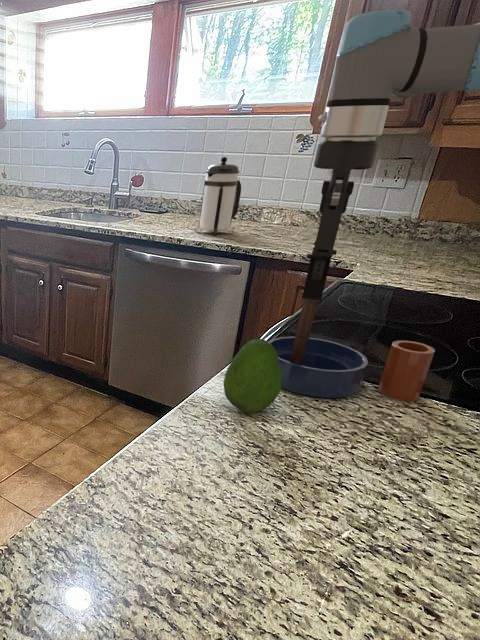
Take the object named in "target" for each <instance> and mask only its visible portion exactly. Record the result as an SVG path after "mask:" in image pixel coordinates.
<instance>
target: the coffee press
mask: <svg viewBox="0 0 480 640" xmlns="http://www.w3.org/2000/svg"><path fill="white" fill-rule="evenodd" d="M220 161H221V163H212V164H210V165H209V166H207V169H206V170H205V180H204V183H203V189H202V198H201V206H200V212H199V220H198V225H197V227H196V228H195V229H194V232H195V233H196V234H197V233H200V232H201V231H205V232H212V236H213V237H217V234H218V232H228V231H229V229H230V230H231V232H229V234H230V235H232V234H233V232H234V231H233V229H232V220H233V218H235V217H236V215H237V214H238V210H239V207H240V206H239V205H240V200H241V193H242V182H241V181H240V180H239V179H238V178H239V174H240V169H239V167H238V166H237V165H236V164H234V163H227V161H228V158H227V156H223V157H221V159H220ZM198 228H199V230H197V229H198ZM196 230H197V231H196Z"/></svg>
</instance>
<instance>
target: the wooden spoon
mask: <svg viewBox="0 0 480 640" xmlns="http://www.w3.org/2000/svg"><path fill="white" fill-rule="evenodd" d="M318 302H319V300H313V299H305V298H303V301H302V306H301V310H300V315H299V318H298V319H299V320H298V324H297V328H296V333H295V336H294V337H295V340H294V345H293V349H292V354H291V358H290V362H291V363H294V364H298V365H303V361H304V357H305V353H306V348H307V344H308V340H309V338H310V335H311V331H312V327H313V323H314V320H315V316H316V315H315V314H316V311H317V307H318Z"/></svg>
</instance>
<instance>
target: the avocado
mask: <svg viewBox="0 0 480 640" xmlns="http://www.w3.org/2000/svg"><path fill="white" fill-rule="evenodd" d="M281 380H282V375H281V369H280V364H279V359H278V355H277V352H276V350H275V349H274V347H273V346H272V345H271V344H270V343H269V341H267V340H266V339H263V338H252V339H251V340H249V341H247V342H246V343H245V344H244V345H243V346H241V348H240V350H239V351H238V352H237V354H236V355H235V356H234V358H233V359H232V360H231V362H230V363H229V365H228V366H227V369H226V371H225V374H224V378H223V391H224V392H223V393H224V395H225V398H226V399H227V401H228V402H229V403H230V404H231V405H232V406H233V407H234V408H236V409H237V410H239V411H240V412H245V413H256V412H261V411H264V410H265V409H267V408H268V407H269V406H270V405H272V404H273V403H274V402H275V401H276V399H277V397H278V396H279V394H280V393H281V391H282V388H281Z"/></svg>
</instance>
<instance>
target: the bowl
mask: <svg viewBox="0 0 480 640" xmlns="http://www.w3.org/2000/svg"><path fill="white" fill-rule="evenodd" d="M294 340H295V336H283V337H282V336H281V337H276V338H272V339H270V340H269V341H268V342H269V343H270V344H271V345H272V346H273V347H274V349H275V350H276V352H277V355H278V359H279V364H280V369H281V375H282V380H281V389H283V390H285V391H289V392H292V393H296V394H299V395H302V396H309V397H315V398H325V399H327V398H328V399H340V398H349V397H351V396H354V395H357V394H358V393H359V392H360V390H361V389H362V386H363V383H364V380H365V376H366V372H367V370H368V366H369V361H368V358H367V356H365V355H364V354H363V353H362V352H360V351H358V350H356V349H355V348H352V347H351V346H347V345H344V344H342V343H338V342H335V341H332V340H326V339H322V338H317V337H316V338H315V337H309V340H308V344H307V348H306V353H305V357H304V361H303V365H298V364H294V363H291V362H290V358H291V354H292V349H293V345H294Z"/></svg>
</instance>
